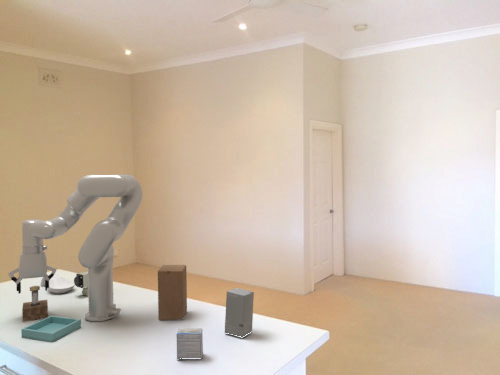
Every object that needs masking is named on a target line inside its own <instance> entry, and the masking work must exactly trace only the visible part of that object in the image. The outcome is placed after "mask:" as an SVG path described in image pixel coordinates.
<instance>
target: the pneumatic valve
mask: <svg viewBox="0 0 500 375" xmlns="http://www.w3.org/2000/svg"><path fill="white" fill-rule="evenodd" d="M73 282H74V284H75V285H74V286H76V287H77V288H81V289H82V291H81V295H82V296H86V297H88V269H86V271H83V272H78V273H76V276H75V277H74V279H73Z"/></svg>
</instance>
